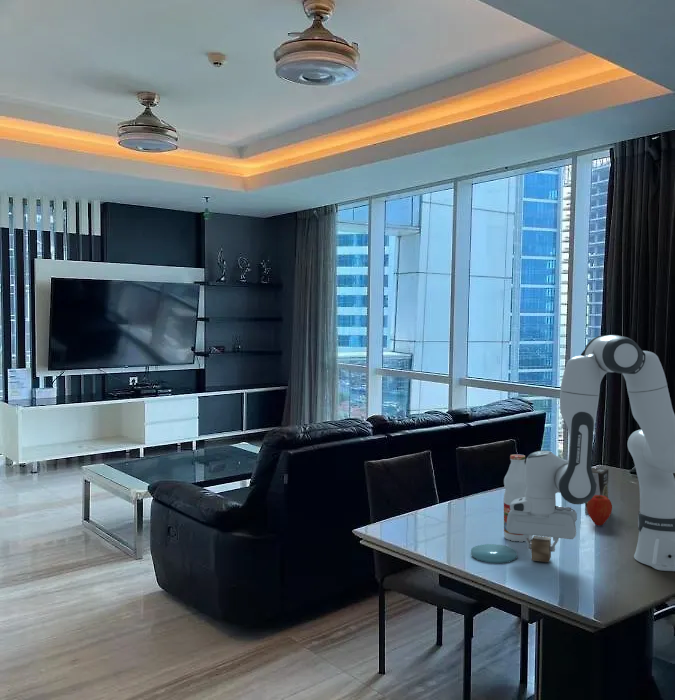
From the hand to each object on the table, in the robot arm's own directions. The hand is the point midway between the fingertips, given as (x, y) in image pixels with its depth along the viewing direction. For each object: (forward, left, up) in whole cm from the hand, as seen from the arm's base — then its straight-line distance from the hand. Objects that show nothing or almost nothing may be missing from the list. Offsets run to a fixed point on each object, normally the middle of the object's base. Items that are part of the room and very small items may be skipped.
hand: (541, 549), depth 207 cm
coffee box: (-12, -62, -4) cm, 63 cm away
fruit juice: (+10, -20, -4) cm, 23 cm away
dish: (+14, 0, -3) cm, 15 cm away
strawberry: (-14, -45, -4) cm, 47 cm away
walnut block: (0, 0, -3) cm, 3 cm away
